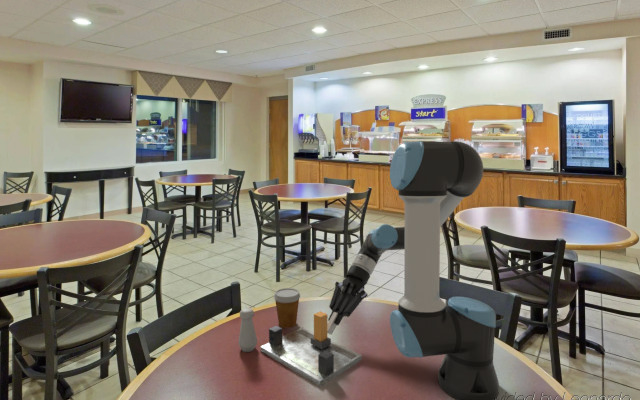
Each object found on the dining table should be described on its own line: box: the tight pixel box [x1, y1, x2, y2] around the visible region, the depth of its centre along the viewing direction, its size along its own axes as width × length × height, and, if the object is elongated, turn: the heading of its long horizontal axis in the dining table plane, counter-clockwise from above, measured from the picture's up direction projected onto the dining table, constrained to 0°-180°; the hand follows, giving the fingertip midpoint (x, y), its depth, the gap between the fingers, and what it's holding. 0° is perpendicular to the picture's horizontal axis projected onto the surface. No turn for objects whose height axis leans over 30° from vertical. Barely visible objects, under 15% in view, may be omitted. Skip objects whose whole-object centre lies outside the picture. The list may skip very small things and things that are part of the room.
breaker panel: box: [260, 325, 363, 387], centre depth 117 cm, size 26×18×6 cm
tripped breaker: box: [311, 310, 332, 349], centre depth 119 cm, size 5×4×10 cm
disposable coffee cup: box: [273, 287, 301, 329], centre depth 137 cm, size 10×10×12 cm
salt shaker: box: [238, 307, 258, 353], centre depth 120 cm, size 6×6×13 cm
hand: (328, 332), depth 122 cm, fingers closed
